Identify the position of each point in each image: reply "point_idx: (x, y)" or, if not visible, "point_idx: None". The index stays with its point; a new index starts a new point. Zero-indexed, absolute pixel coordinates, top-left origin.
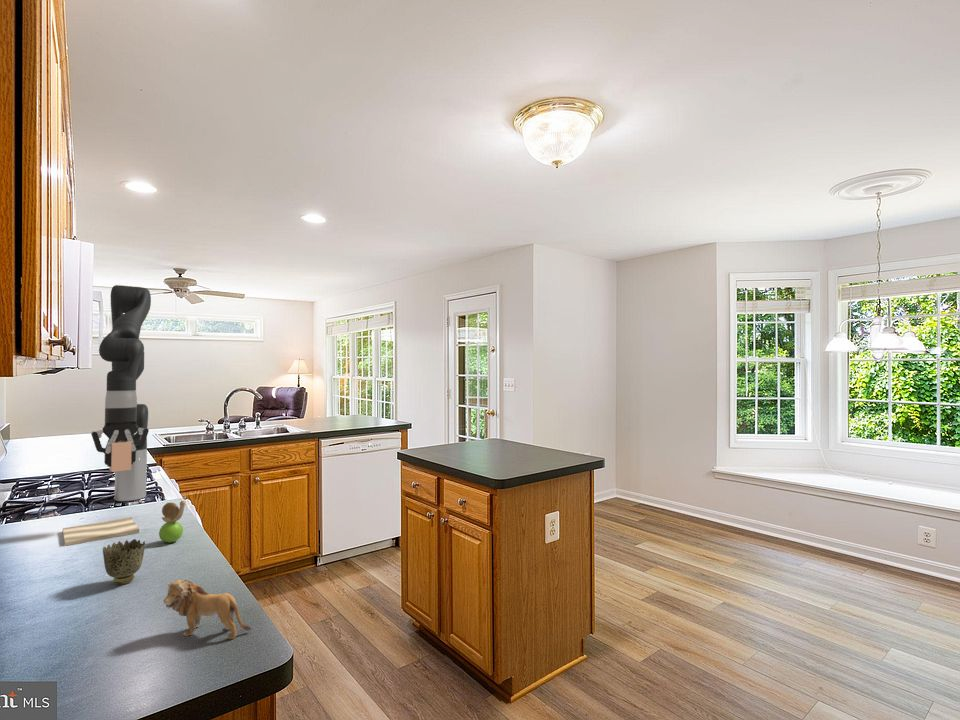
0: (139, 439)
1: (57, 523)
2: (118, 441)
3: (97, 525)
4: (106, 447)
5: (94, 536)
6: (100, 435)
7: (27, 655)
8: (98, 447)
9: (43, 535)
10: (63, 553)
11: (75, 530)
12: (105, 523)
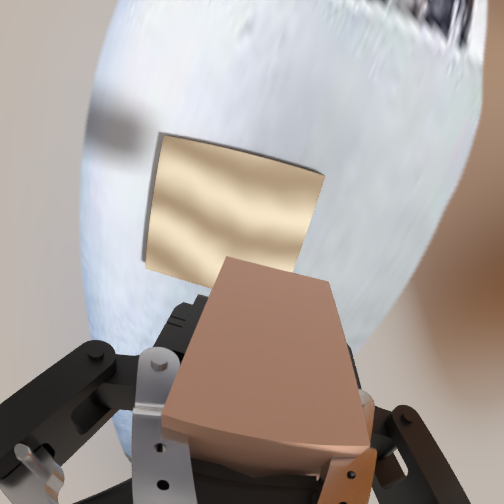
0: (412, 469)
1: (187, 35)
2: (255, 444)
3: (229, 184)
4: (143, 392)
5: (194, 279)
6: (52, 483)
7: (127, 446)
8: (87, 410)
9: (133, 133)
10: (142, 305)
11: (178, 187)
12: (251, 180)
